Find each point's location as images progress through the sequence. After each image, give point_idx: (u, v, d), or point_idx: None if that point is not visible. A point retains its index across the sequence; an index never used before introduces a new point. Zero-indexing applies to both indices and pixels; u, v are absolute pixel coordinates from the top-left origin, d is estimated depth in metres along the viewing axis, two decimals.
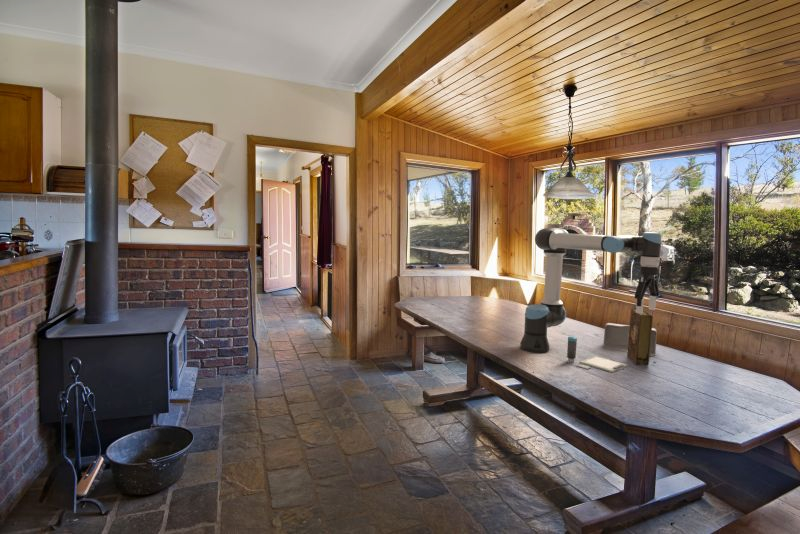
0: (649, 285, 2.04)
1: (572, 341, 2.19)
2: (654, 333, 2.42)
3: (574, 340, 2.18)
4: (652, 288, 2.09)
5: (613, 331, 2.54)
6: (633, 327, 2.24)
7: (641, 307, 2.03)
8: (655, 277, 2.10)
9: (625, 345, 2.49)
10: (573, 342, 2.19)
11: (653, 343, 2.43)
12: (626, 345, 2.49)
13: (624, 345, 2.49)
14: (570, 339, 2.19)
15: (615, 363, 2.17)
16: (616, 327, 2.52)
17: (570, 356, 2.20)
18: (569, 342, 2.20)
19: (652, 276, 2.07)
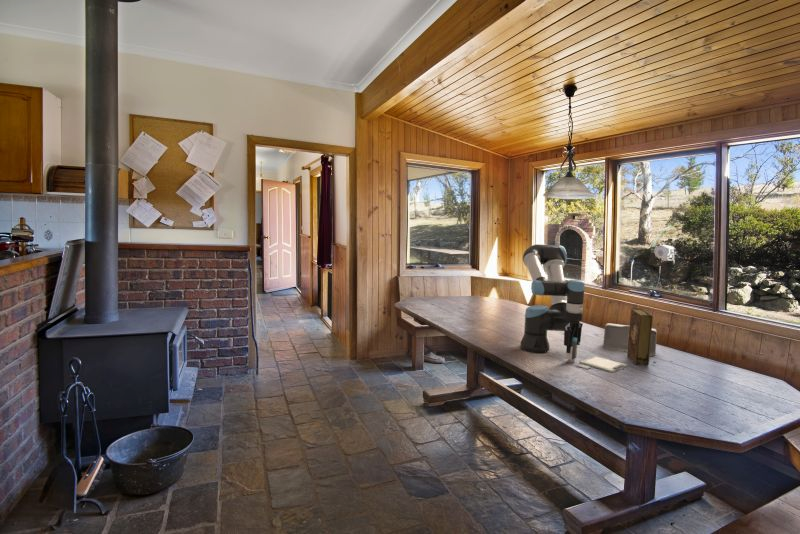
0: (574, 330, 2.18)
1: (572, 341, 2.19)
2: (654, 333, 2.42)
3: (574, 340, 2.18)
4: (575, 334, 2.21)
5: (613, 332, 2.53)
6: (633, 327, 2.24)
7: (570, 354, 2.19)
8: (580, 324, 2.22)
9: (625, 345, 2.48)
10: (573, 342, 2.19)
11: (653, 343, 2.42)
12: (626, 345, 2.48)
13: (624, 345, 2.49)
14: None
15: (615, 363, 2.17)
16: (616, 327, 2.51)
17: None
18: None
19: None
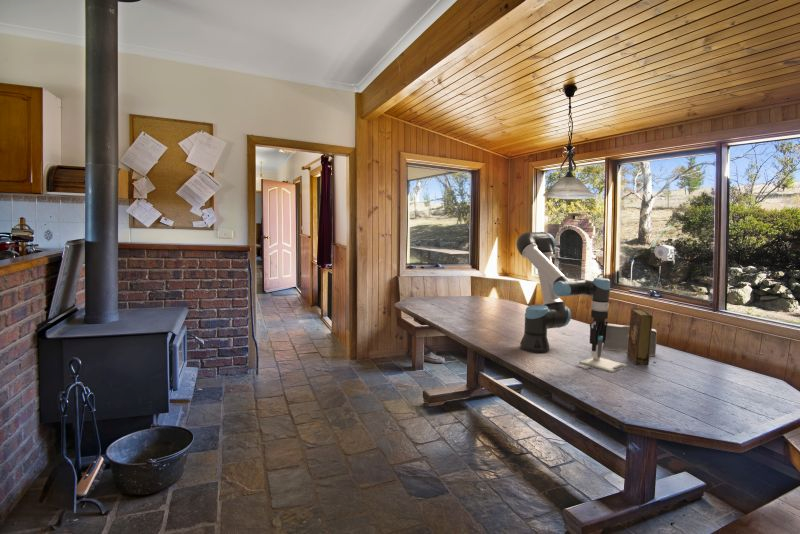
0: (600, 328, 2.18)
1: (598, 339, 2.19)
2: (654, 334, 2.41)
3: (600, 338, 2.18)
4: (600, 332, 2.21)
5: (613, 332, 2.52)
6: (633, 327, 2.24)
7: (596, 352, 2.19)
8: (605, 322, 2.23)
9: (625, 346, 2.48)
10: (599, 340, 2.19)
11: (653, 344, 2.42)
12: (626, 346, 2.48)
13: (624, 346, 2.48)
14: None
15: (615, 363, 2.17)
16: (616, 328, 2.51)
17: None
18: None
19: None
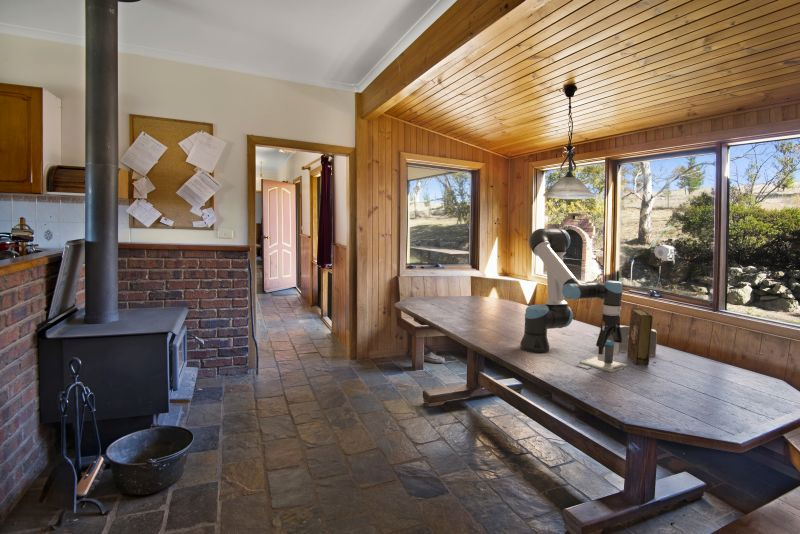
0: (611, 333, 2.08)
1: (609, 345, 2.10)
2: (654, 334, 2.40)
3: (611, 344, 2.10)
4: (614, 335, 2.14)
5: None
6: (633, 327, 2.24)
7: (602, 355, 2.07)
8: (617, 324, 2.14)
9: (625, 346, 2.47)
10: (610, 346, 2.10)
11: (653, 344, 2.41)
12: (626, 346, 2.47)
13: (624, 346, 2.47)
14: (607, 343, 2.10)
15: (615, 363, 2.17)
16: None
17: (607, 361, 2.11)
18: (606, 346, 2.11)
19: (614, 324, 2.11)
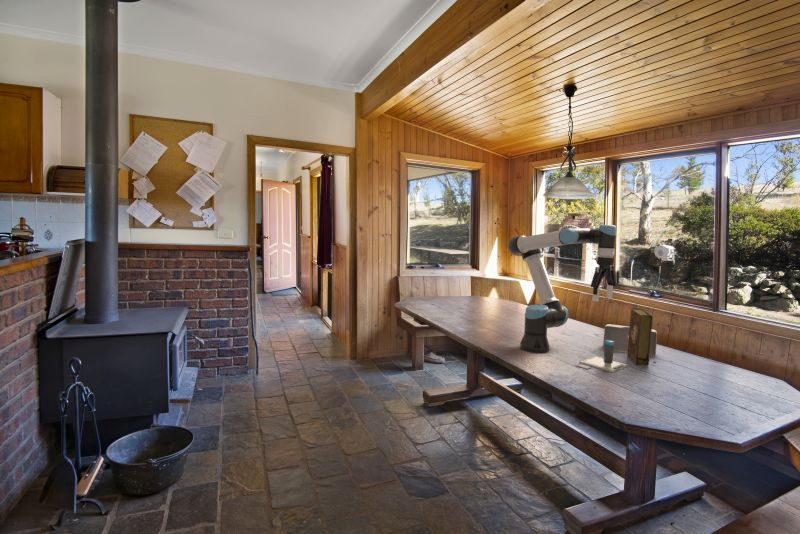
0: (605, 275, 2.16)
1: (609, 345, 2.10)
2: (654, 334, 2.40)
3: (611, 344, 2.10)
4: (609, 278, 2.22)
5: (612, 333, 2.51)
6: (633, 327, 2.24)
7: (597, 295, 2.15)
8: (611, 267, 2.22)
9: (625, 346, 2.46)
10: (610, 346, 2.10)
11: (653, 344, 2.40)
12: (626, 346, 2.46)
13: (624, 346, 2.46)
14: (607, 343, 2.10)
15: (615, 363, 2.17)
16: (616, 328, 2.49)
17: (607, 361, 2.11)
18: (606, 346, 2.11)
19: (608, 266, 2.19)
